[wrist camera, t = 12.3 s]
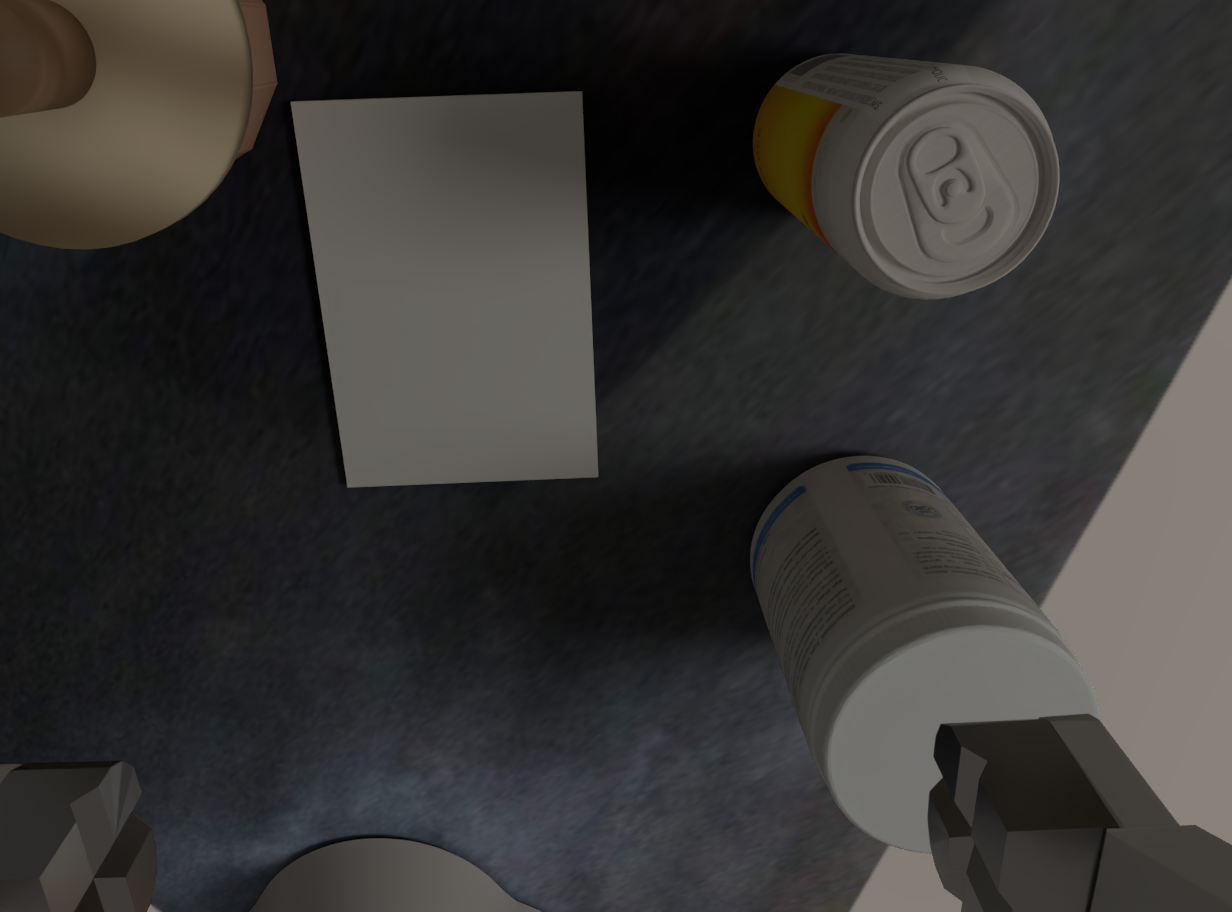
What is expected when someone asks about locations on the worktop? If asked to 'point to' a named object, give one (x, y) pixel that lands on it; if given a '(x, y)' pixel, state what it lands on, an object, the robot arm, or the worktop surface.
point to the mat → (454, 284)
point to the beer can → (910, 168)
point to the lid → (117, 114)
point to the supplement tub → (897, 634)
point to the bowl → (258, 68)
